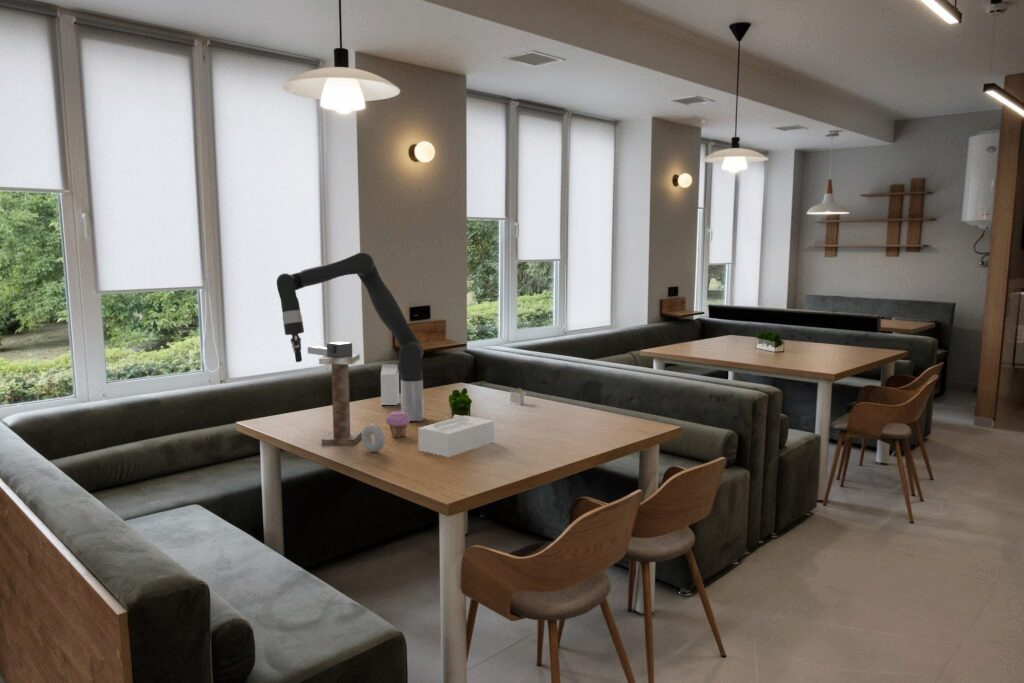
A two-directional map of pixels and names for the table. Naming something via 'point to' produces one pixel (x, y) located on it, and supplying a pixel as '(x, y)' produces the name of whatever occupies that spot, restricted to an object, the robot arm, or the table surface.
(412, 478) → the table surface
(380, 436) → the donut
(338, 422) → the stand
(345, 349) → the grey block with knob
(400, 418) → the cupcake
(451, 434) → the tissue box
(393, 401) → the milk carton
